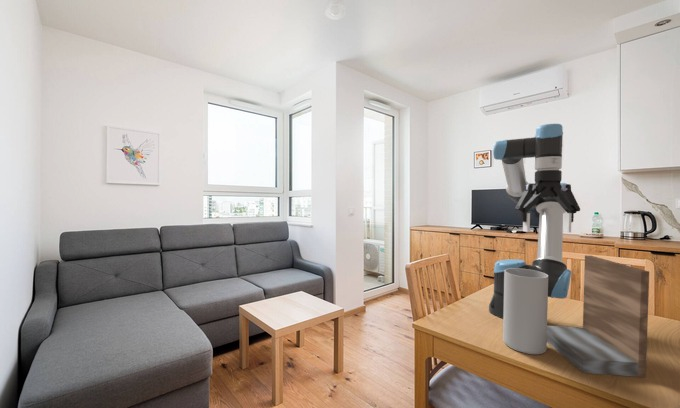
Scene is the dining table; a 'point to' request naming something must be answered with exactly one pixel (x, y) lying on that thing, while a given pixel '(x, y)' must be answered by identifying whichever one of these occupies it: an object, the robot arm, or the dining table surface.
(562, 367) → the dining table surface
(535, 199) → the robot arm
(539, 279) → the cylinder vase
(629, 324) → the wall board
